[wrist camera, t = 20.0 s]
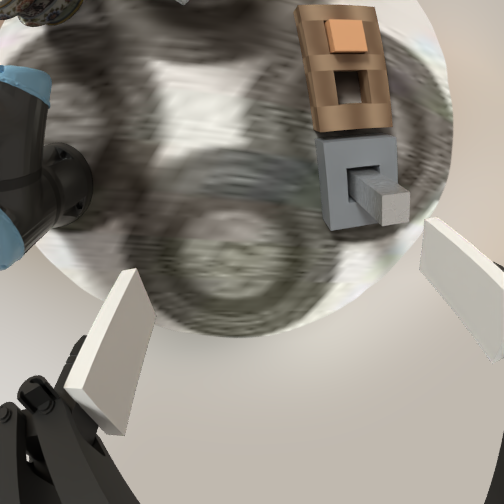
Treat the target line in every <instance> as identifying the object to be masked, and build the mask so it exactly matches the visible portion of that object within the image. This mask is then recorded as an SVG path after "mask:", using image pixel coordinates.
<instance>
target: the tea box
mask: <svg viewBox="0 0 504 504" xmlns="http://www.w3.org/2000/svg"><path fill="white" fill-rule="evenodd" d="M175 1H177V2H179V3H180V4H182V5H185V4H186V3H187V2H188V1H189V0H175Z"/></svg>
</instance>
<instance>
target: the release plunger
mask: <svg viewBox="0 0 504 504" xmlns="http://www.w3.org/2000/svg"><path fill="white" fill-rule="evenodd" d="M324 26H325V31H326V36H327V41H328V46H329V52H330V54H359V53H363V52H366V51H368V50H367V44H366V39H365V34H364V29H363V24H362V20H342V19H329V20H328V21H326V22H325V23H324Z"/></svg>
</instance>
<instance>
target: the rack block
mask: <svg viewBox="0 0 504 504" xmlns="http://www.w3.org/2000/svg"><path fill="white" fill-rule="evenodd" d="M315 144H316V152H317V161H318V170H319V180H320V190H321V201H322V213H323V220H324V221H325V223H326V224H327V226H328V227H329V229H330V230H331V231H333V230H339V229H345V228H351V227H357V226H363V225H369V224H375V223H378V222H377V221H376V220H375V219H374V218H373V217H372V216H371V215H370V214H369V213H368V212H367V211H366V210H365V209H364V208H363V207H362V206H361V205H360V204H359V203H358V202H357V201H356V200H355V199H354V198H352V197H351V196H350V195H349V194H348V184H347V169H346V168H354V167H363V166H369V167H370V168H372V169H374V170H376V171H377V172H379V173H381V174H382V175H384V176H385V177H387V178H389V179H390V180H392V181H394V182H395V183H397V184H398V172H397V143H396V137H394V136H391V135H388V134H385V133H371V134H358V135H346V136H336V137H326V138H317V139H315Z"/></svg>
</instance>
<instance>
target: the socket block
mask: <svg viewBox="0 0 504 504" xmlns="http://www.w3.org/2000/svg"><path fill="white" fill-rule="evenodd" d="M293 13H294V17H295V22H296V27H297V32H298V37H299V42H300V47H301V52H302V58H303V63H304V69H305V75H306V81H307V87H308V93H309V100H310V107H311V114H312V121H313V128H314V130H316V131H318V132H328V131H338V130H350V129H363V128H380V127H393V126H392V113H391V103H390V94H389V85H388V78H387V70H386V64H385V57H384V51H383V46H382V40H381V35H380V30H379V25H378V20H377V16H376V11H375V7H367V6H352V5H298V6H297V8H296V9H295V11H294V12H293ZM329 19H342V20H362V24H363V29H364V34H365V39H366V44H367V50H368V51H366V52H363V53H359V54H330V52H329V46H328V41H327V36H326V31H325V26H324V23H325V22H326V21H328V20H329ZM348 71H358V78H359V85H360V93H361V101H362V103H349V104H338V98H337V91H336V84H335V77H334V72H348Z"/></svg>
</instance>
